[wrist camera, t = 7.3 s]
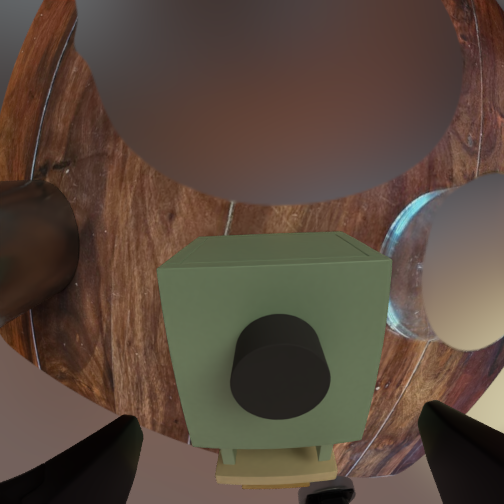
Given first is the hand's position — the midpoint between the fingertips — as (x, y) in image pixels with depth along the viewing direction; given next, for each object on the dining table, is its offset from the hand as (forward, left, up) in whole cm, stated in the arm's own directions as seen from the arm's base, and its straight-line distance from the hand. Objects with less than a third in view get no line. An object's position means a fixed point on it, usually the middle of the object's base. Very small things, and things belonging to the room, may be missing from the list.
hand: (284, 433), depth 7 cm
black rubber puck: (0, 0, -5) cm, 5 cm away
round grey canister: (+4, +20, -13) cm, 24 cm away
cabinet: (-2, 0, -13) cm, 13 cm away
